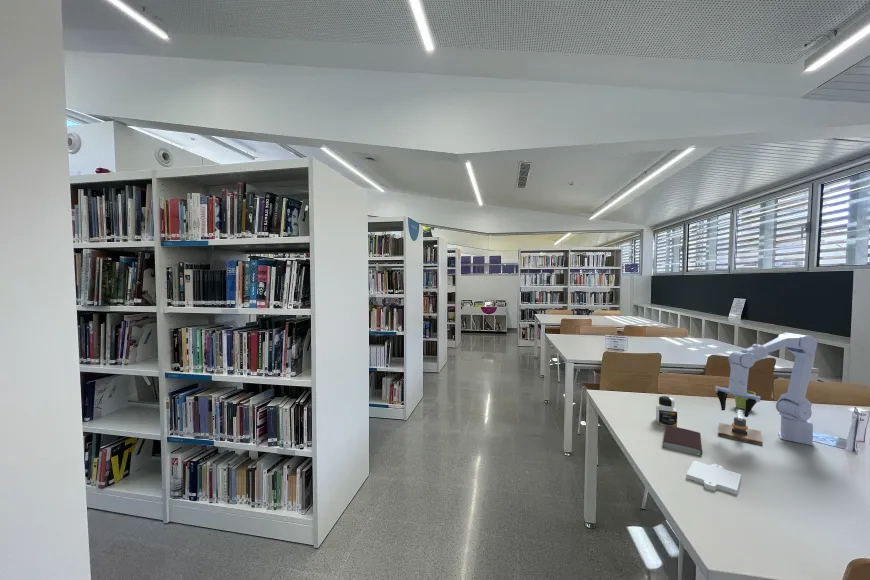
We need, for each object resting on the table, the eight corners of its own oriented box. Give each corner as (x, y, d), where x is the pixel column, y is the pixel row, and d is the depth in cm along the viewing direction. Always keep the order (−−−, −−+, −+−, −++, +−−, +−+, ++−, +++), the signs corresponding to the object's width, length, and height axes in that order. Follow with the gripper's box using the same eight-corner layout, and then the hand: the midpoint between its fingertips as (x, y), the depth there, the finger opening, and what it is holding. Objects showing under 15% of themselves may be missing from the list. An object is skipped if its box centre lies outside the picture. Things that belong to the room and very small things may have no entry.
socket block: (760, 434, 154) (761, 417, 154) (762, 445, 144) (763, 426, 144) (719, 425, 163) (719, 409, 163) (718, 435, 153) (718, 418, 153)
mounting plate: (695, 463, 130) (695, 458, 130) (742, 477, 121) (742, 471, 121) (684, 482, 117) (684, 476, 117) (736, 499, 108) (736, 493, 108)
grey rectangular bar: (736, 411, 160) (736, 408, 160) (743, 412, 158) (743, 410, 158) (736, 420, 150) (736, 417, 150) (744, 421, 148) (744, 418, 148)
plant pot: (727, 404, 193) (727, 388, 193) (747, 405, 192) (747, 389, 191) (739, 410, 184) (740, 393, 183) (760, 411, 182) (760, 394, 182)
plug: (747, 435, 154) (747, 418, 154) (747, 439, 150) (748, 422, 150) (731, 431, 157) (732, 415, 157) (731, 435, 153) (732, 419, 153)
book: (700, 439, 150) (700, 431, 150) (702, 457, 134) (702, 448, 134) (665, 432, 157) (665, 424, 157) (662, 448, 142) (662, 440, 142)
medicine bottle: (658, 424, 164) (659, 398, 164) (655, 419, 171) (656, 394, 171) (677, 427, 162) (677, 400, 162) (673, 421, 168) (673, 396, 168)
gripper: (713, 376, 152) (709, 408, 153) (758, 386, 141) (754, 421, 141) (719, 375, 157) (716, 406, 157) (763, 385, 145) (759, 418, 145)
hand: (734, 413), depth 149 cm, fingers open, 7 cm apart
